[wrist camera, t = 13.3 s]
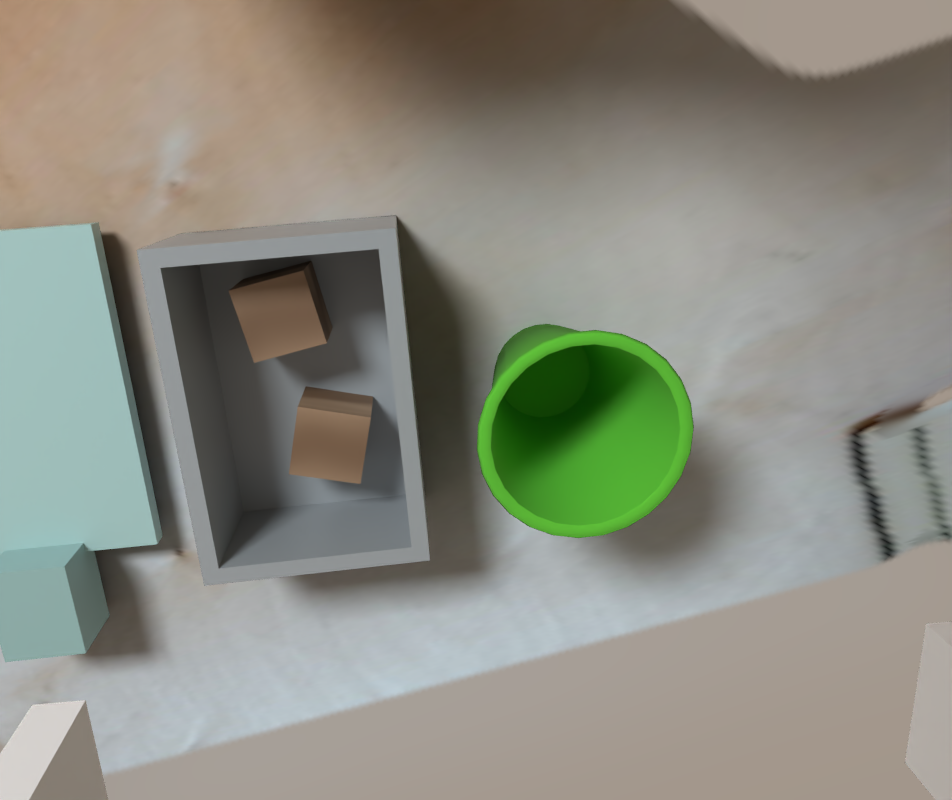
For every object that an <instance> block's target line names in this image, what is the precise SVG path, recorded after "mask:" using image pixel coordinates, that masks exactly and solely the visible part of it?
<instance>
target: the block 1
mask: <svg viewBox="0 0 952 800" xmlns="http://www.w3.org/2000/svg"><path fill="white" fill-rule="evenodd" d="M229 294H230V296H231V299H232V302H233V305H234V308H235V310H236V313H237V316H238V319H239V322H240V325H241V327H242V330H243V333H244V336H245V339H246V341H247V344H248V347H249V350H250V353H251V355H252V358H253V361H254V363H256V362H259V361H263V360H267V359H271V358H274V357H278V356H282V355H285V354H289V353H293V352H296V351H300V350H304V349H307V348H311V347H315V346H319V345H322V344H326V343H327V341H328V339H329V336H330V334H331V331H332V328H333V327H332V324H331V321H330V317H329V314H328V311H327V308H326V305H325V302H324V299H323V295H322V292H321V289H320V286H319V283H318V280H317V277H316V273H315V270H314V267H313V264H312V261H308V262H304V263H301V264H297V265H293V266H289V267H286V268H282V269H278V270H275V271H271V272H267V273H263V274H260V275H256V276H252V277H249V278H245V279H242V280H241V281H240V282H239V283H237V284H236V285H235V286H234V287H232V288H231V289H230V290H229Z"/></svg>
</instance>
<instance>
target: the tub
mask: <svg viewBox="0 0 952 800" xmlns="http://www.w3.org/2000/svg"><path fill="white" fill-rule="evenodd" d="M137 254H138V259H139V264H140V269H141V274H142V279H143V284H144V289H145V294H146V299H147V304H148V309H149V314H150V319H151V324H152V329H153V334H154V339H155V344H156V349H157V353H158V358H159V363H160V368H161V373H162V378H163V383H164V388H165V393H166V398H167V403H168V408H169V413H170V418H171V423H172V428H173V433H174V438H175V443H176V448H177V453H178V458H179V463H180V468H181V473H182V478H183V483H184V487H185V492H186V497H187V502H188V507H189V512H190V517H191V522H192V527H193V532H194V537H195V542H196V547H197V552H198V557H199V562H200V567H201V572H202V577H203V582H204V586H206V585H215V584H224V583H233V582H242V581H251V580H260V579H269V578H278V577H287V576H296V575H305V574H314V573H322V572H331V571H340V570H349V569H358V568H367V567H376V566H385V565H394V564H403V563H412V562H421V561H430V553H429V539H428V526H427V512H426V499H425V490H424V480H423V470H422V460H421V451H420V441H419V431H418V422H417V412H416V402H415V392H414V383H413V373H412V363H411V354H410V344H409V334H408V324H407V315H406V305H405V295H404V286H403V276H402V266H401V257H400V247H399V237H398V227H397V218H396V215H394V216H382V217H370V218H359V219H347V220H335V221H323V222H311V223H299V224H287V225H275V226H263V227H251V228H240V229H228V230H216V231H204V232H192V233H181V234H178V235H175V236H173V237H170V238H167V239H165V240H162V241H159V242H157V243H154V244H152V245H149V246H146V247H144V248H141V249H138V250H137ZM308 261H312V264H313V267H314V270H315V273H316V277H317V280H318V283H319V286H320V289H321V292H322V295H323V299H324V302H325V305H326V308H327V311H328V314H329V317H330V321H331V324H332V327H333V328H332V331H331V334H330V336H329V339H328V341H327V343H326V344H322V345H319V346H315V347H311V348H307V349H304V350H300V351H296V352H293V353H289V354H285V355H282V356H278V357H274V358H271V359H267V360H263V361H259V362H256V363H254V361H253V358H252V355H251V353H250V350H249V347H248V344H247V341H246V339H245V336H244V333H243V330H242V327H241V325H240V322H239V319H238V316H237V313H236V310H235V308H234V305H233V302H232V299H231V296H230V294H229V290H230V289H231V288H232V287H234V286H235V285H236V284H237V283H239V282H240V281H241V280H242V279H245V278H249V277H252V276H256V275H260V274H263V273H267V272H271V271H275V270H278V269H282V268H286V267H289V266H293V265H297V264H301V263H304V262H308ZM306 386H308V387H314V388H321V389H327V390H334V391H340V392H347V393H354V394H360V395H367V396H373V403H372V412H371V420H370V427H369V433H368V439H367V446H366V452H365V458H364V465H363V471H362V477H361V483H360V484H357V483H349V482H342V481H335V480H327V479H320V478H313V477H305V476H298V475H291V474H289V469H290V461H291V454H292V446H293V438H294V431H295V423H296V415H297V408H298V405H299V402H300V400H301V397H302V395H303V392H304V390H305V387H306Z"/></svg>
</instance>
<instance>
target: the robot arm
mask: <svg viewBox="0 0 952 800" xmlns="http://www.w3.org/2000/svg"><path fill="white" fill-rule="evenodd" d="M905 763H906V764H907V766H908V767H909V768H910V769H911V770H912V772H913V773H914V774H915V776H916V777H917V778H918V779H919V780H920V782H921V783H922V784H923V785H924V787H925V788H926V789H927V790H928V792H929V793H930V794H931V795H932V796H933V798H934V799H935V800H952V621H949V622H939V623H927V624H926V628H925V634H924V641H923V648H922V654H921V661H920V667H919V674H918V680H917V687H916V693H915V700H914V707H913V713H912V720H911V727H910V733H909V739H908V746H907V752H906V759H905ZM0 800H108V797H107V793H106V788H105V784H104V779H103V775H102V770H101V766H100V762H99V757H98V753H97V749H96V744H95V740H94V736H93V731H92V727H91V722H90V718H89V714H88V709H87V705H86V701H85V700H82V701H71V702H60V703H49V704H39V705H32V706H31V708H30V709H29V711H28V712H27V714H26V715H25V717H24V718H23V720H22V721H21V723H20V724H19V726H18V727H17V729H16V731H15V732H14V734H13V735H12V737H11V738H10V740H9V741H8V743H7V744H6V746H5V747H4V749H3V750H2V752H1V754H0Z"/></svg>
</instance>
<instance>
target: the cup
mask: <svg viewBox="0 0 952 800" xmlns="http://www.w3.org/2000/svg"><path fill="white" fill-rule="evenodd" d="M693 428H694V426H693V418H692V410H691V402H690V400H689V397H688V395H687V392H686V390H685V387H684V385H683V382H682V380H681V378H680V377H679V376H678V374H677V373H676V372H675V370H674V369H673V368H672V366H671V365H670V364H669V362H668V361H667V360H666V359H665V358H664V357H662V356H661V355H660V354H658V353H657V352H656V351H655V350H653V349H652V348H651V347H649V346H648V345H647V344H645V343H642V342H640V341H638V340H635V339H633V338H631V337H628V336H626V335H623V334H619V333H612V332H605V331H598V330H592V331H582V332H581V331H577V330H573V329H569V328H565V327H561V326H557V325H550V324H543V325H534V326H531V327H528V328H526V329H523V330H521V331H520V332H518V333H517V334H515V335H514V336H513V337H512V338H511V339H510V340H509V341H508V342H507V343H506V344H505V345H504V347H503V348H502V350H501V352H500V353H499V355H498V359H497V362H496V365H495V371H494V377H493V383H492V390H491V391H490V393H489V395H488V396H487V398H486V400H485V403H484V407H483V410H482V413H481V416H480V420H479V423H478V437H477V452H478V457H479V462H480V466H481V471H482V475H483V477H484V479H485V480H486V482H487V484H488V486H489V488H490V490H491V492H492V494H493V496H494V497H495V498H496V499H497V500H498V501H499V502H500V504H501V505H502V506H503V507H504V508H505V509H506V510H507V511H508V513H509V514H511V515H512V516H514V517H516V518H517V519H519V520H520V521H522V522H523V523H525V524H526V525H528V526H529V527H532V528H534V529H537V530H540V531H543V532H546V533H548V534H551V535H557V536H566V537H575V538H582V537H591V536H600V535H605V534H608V533H611V532H614V531H617V530H620V529H623V528H626V527H628V526H630V525H631V524H633V523H635V522H636V521H638V520H640V519H641V518H643V517H645V516H646V515H648V514H649V513H650V512H651V511H652V510H654V509H655V508H656V507H657V506H658V505H659V504H660V503H661V502H662V501H663V500H664V499H665V498H666V497H667V496H668V495H669V493H670V492H671V490H672V489H673V487H674V486H675V484H676V483H677V481H678V480H679V478H680V477H681V475H682V472H683V469H684V467H685V464H686V462H687V459H688V457H689V454H690V451H691V443H692V435H693Z"/></svg>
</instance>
